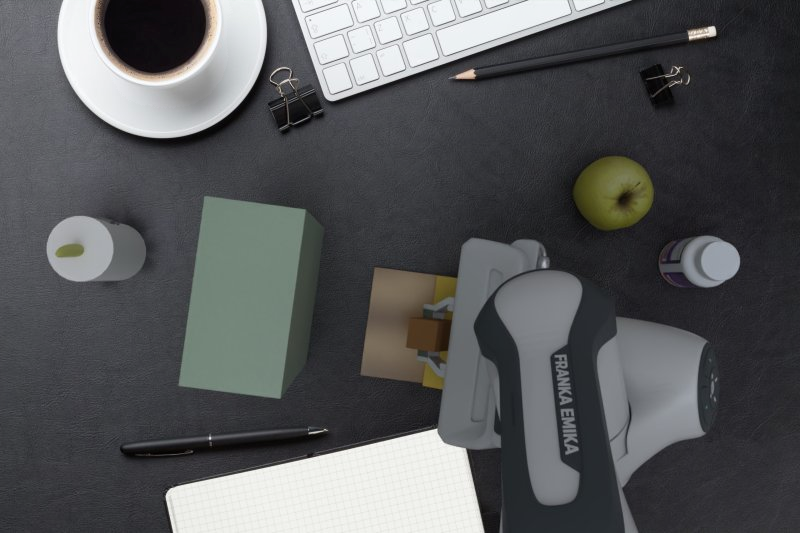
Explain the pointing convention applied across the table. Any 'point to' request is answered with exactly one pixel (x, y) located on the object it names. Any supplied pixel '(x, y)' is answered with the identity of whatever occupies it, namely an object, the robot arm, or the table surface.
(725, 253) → the pill bottle
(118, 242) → the candle
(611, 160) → the apple
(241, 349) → the tall sage green box
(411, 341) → the wiper
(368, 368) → the mat
